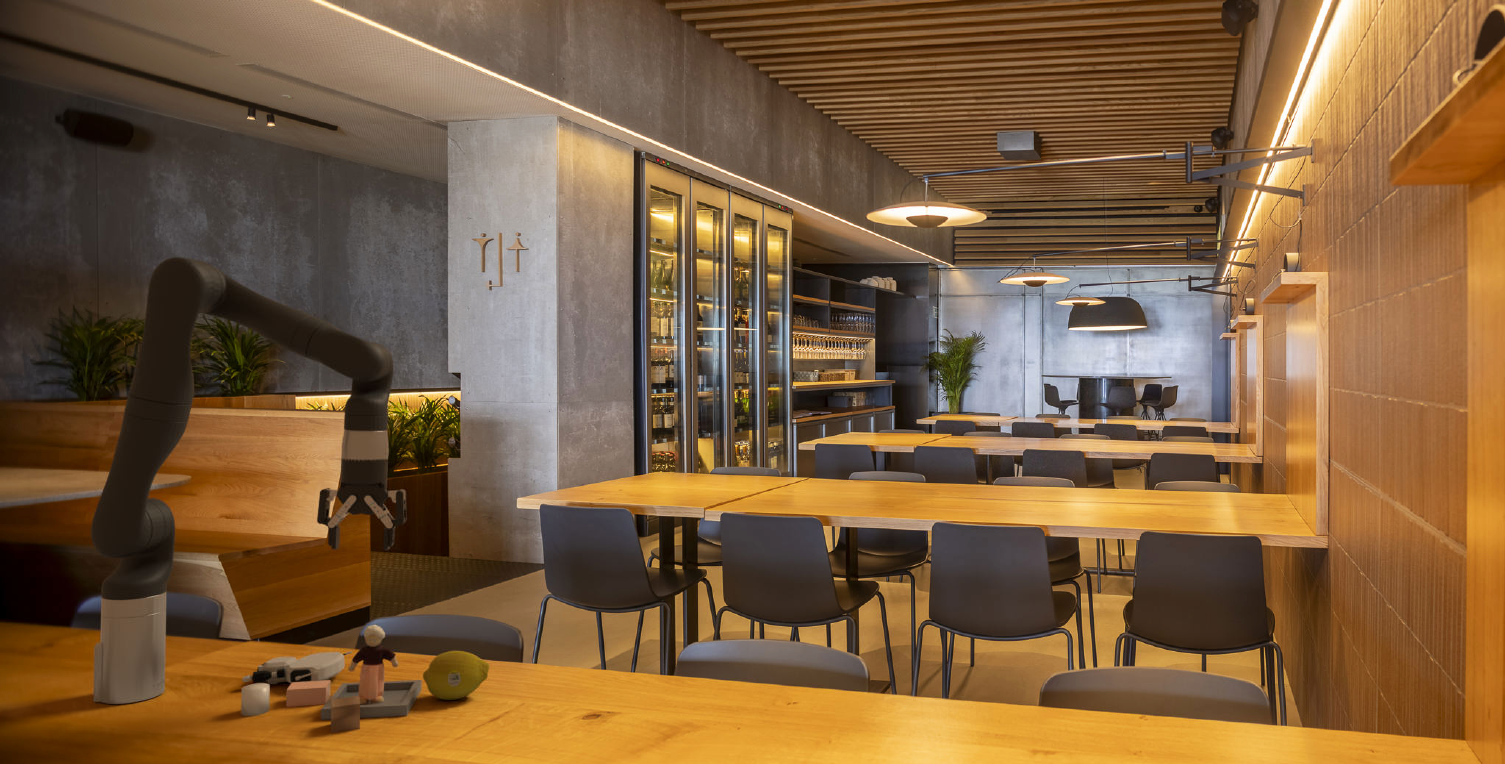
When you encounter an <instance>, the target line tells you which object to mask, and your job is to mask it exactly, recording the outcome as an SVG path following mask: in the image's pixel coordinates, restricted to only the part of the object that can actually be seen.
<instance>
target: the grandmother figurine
mask: <svg viewBox="0 0 1505 764" xmlns="http://www.w3.org/2000/svg"><path fill="white" fill-rule="evenodd" d="M363 636H364V639H365V640H364V641H365V644H366V646H363V647H362V648H360V649H359V650H358V651H357V652H356V653H355V655H354V656H353V657H352V659H351V662H350V665H349V666H348V672H354V671H355V670H356V667H357V666H358V665H359V663H360V662H362V664H361V668H360V673H359V682H358V683H359V699H360V704H365V703H367V702H368V700H370V699H372V700H371V702H372V703H381V702H383V701H384V699H383V697H382V696H381V695H383V691H384V682H385V664H384V660H386V661H389V662H390V663H391V665H392V667H393V668H397V667H399V662H398V660H397V659H398V658H397V657H396V655H397V654H396V653H395V652H394V651H392V650H391V649H390V648H388V647H386V646H384V645H380V644H381V643H382V642H383V641H382V640H383V639H384V638H386V632H385V631H384V629H383V628H382V627H381V626H380V625H379V626H378V625H377V624H372V625H368V626H366V628H365V630H364V632H363Z"/></svg>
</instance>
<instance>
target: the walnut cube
mask: <svg viewBox="0 0 1505 764" xmlns="http://www.w3.org/2000/svg"><path fill="white" fill-rule="evenodd" d="M360 729H361V718H360V699H359V696H353V697H345V698H337V699H331V719H330V732H331V734H333V733H340V732H348V731H356V730H360Z"/></svg>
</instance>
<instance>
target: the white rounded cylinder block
mask: <svg viewBox="0 0 1505 764" xmlns="http://www.w3.org/2000/svg"><path fill="white" fill-rule="evenodd" d="M270 685H271V684H269V683H265V682H260V683H252V684H247V685H245V686H243V687H241V696H240V697H241V699H240V700H241V701H240V702H241V703H240V705H241V706H240V714H241V716H244V717H255V716H261V715H263V714H267V713H268V712H269V711H270V688H271V687H270Z"/></svg>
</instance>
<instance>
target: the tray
mask: <svg viewBox="0 0 1505 764" xmlns="http://www.w3.org/2000/svg"><path fill="white" fill-rule="evenodd" d="M422 682H423V681H422V680H421V679H414V680H413V679H412V680H411V679H410V680H409V679H408V680H388V681H385V680H384V691H383V695H381V696H382V697H383V699H384V701H383V702H381V703H372V702H371V700H372V699H370V700H368V702H367V703H365V704H360V719H366V718H368V719H369V718H386V717H387V718H388V717H389V718H390V717H406V716H408V715H409V713H410V710H411V709H412V707H414V704H415V702H416V700H417V698H418V697H417V696H419V695H420V693H421V691H422ZM353 696H359V682H344V683H342V684H341V685H340V686H339V687H338V688H337V690H336V691H335V692H334V693H333V694H332V696H330V698H329V699H328V701H327V703H326V704H323V706H322V707H321V709H320V720H321V721H322V720H323V721H327V720H328V721H329V720H331V699H337V698H345V697H353Z"/></svg>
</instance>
